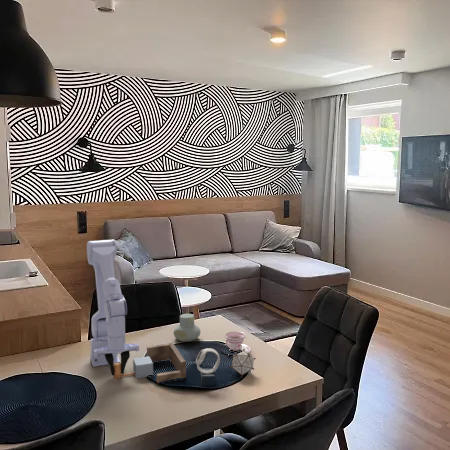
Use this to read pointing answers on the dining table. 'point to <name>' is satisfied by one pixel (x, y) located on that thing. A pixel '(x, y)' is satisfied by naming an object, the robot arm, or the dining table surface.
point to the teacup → (236, 341)
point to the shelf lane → (163, 354)
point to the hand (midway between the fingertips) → (117, 373)
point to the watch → (207, 374)
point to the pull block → (136, 368)
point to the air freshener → (187, 329)
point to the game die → (242, 362)
